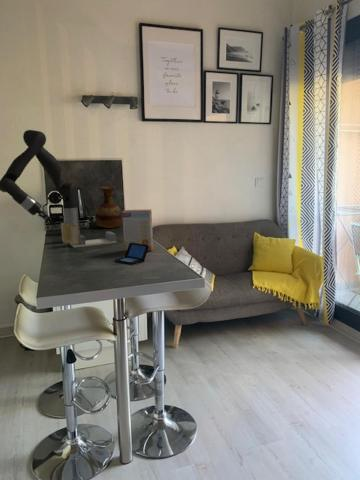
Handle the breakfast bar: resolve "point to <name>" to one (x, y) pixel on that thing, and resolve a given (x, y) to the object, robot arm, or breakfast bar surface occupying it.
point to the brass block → (66, 232)
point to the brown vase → (108, 210)
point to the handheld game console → (134, 254)
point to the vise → (99, 240)
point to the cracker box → (138, 227)
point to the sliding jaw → (76, 236)
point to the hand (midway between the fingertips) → (54, 223)
